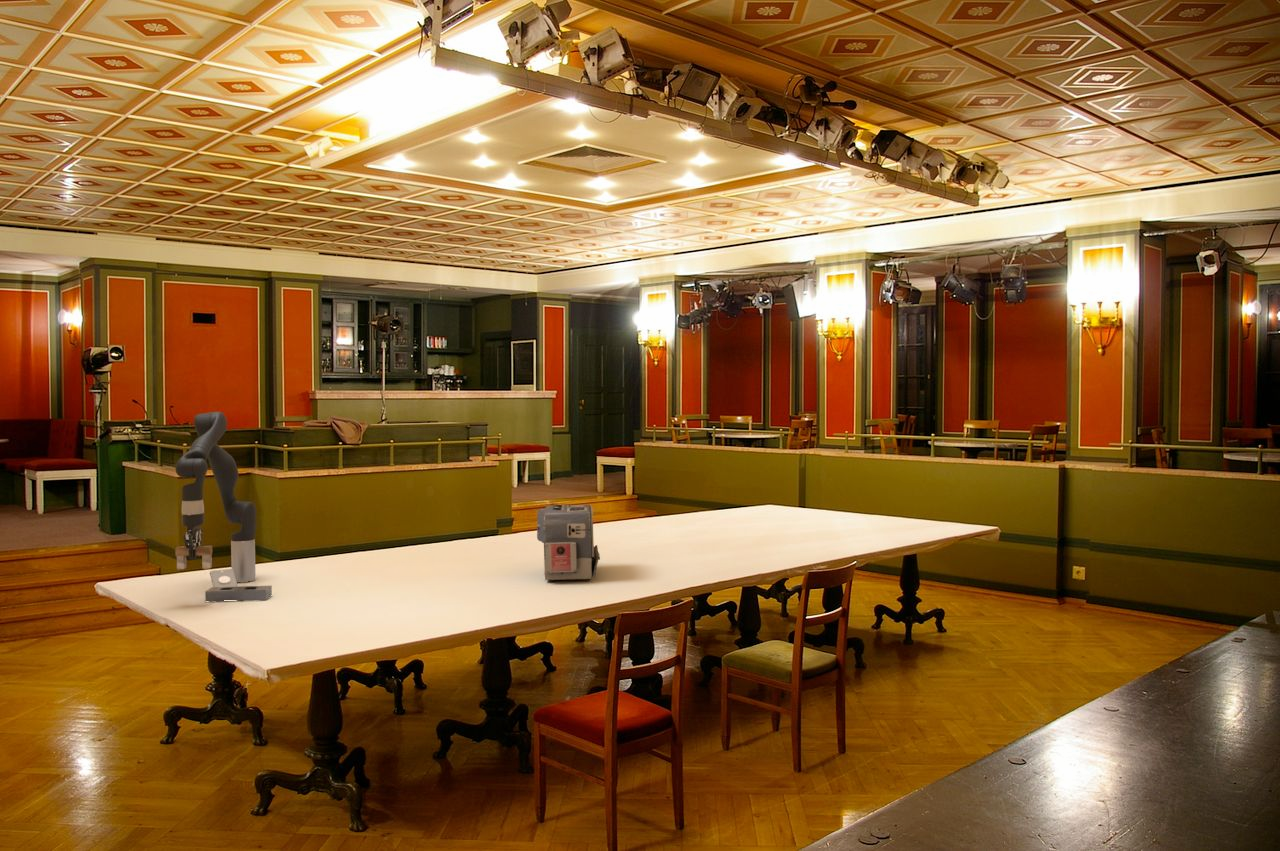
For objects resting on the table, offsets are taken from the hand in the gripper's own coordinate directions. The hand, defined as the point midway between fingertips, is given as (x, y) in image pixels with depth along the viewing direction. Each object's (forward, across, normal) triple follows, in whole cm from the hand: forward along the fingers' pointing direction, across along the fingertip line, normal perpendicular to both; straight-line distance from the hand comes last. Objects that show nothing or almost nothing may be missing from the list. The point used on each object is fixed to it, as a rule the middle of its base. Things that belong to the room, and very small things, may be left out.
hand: (194, 558), depth 351 cm
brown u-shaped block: (+4, 0, 0) cm, 4 cm away
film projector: (+18, -38, +139) cm, 145 cm away
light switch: (+18, -24, +3) cm, 30 cm away
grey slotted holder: (+18, -9, +13) cm, 23 cm away
